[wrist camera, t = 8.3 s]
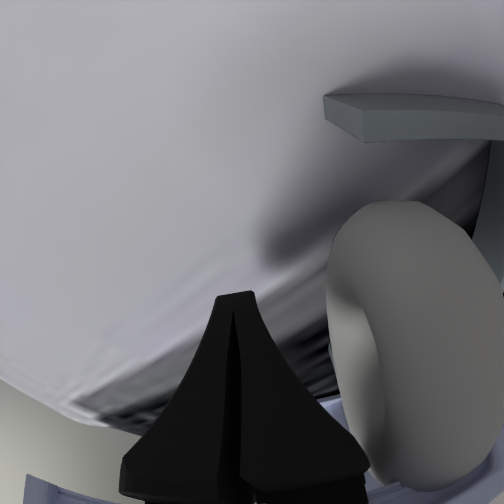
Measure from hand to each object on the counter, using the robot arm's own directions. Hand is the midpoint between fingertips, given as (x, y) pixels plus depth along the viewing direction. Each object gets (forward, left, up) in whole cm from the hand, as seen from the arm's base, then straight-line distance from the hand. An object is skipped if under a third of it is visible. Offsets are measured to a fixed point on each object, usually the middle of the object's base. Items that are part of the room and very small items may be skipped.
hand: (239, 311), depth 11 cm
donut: (0, -5, -2) cm, 5 cm away
